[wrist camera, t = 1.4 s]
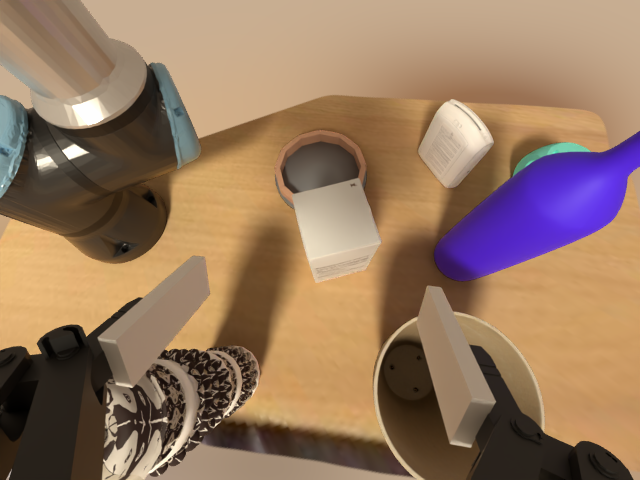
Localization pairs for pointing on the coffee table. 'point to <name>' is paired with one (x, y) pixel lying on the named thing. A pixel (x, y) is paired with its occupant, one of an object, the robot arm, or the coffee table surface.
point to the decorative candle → (173, 408)
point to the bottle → (539, 211)
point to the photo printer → (454, 143)
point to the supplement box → (336, 229)
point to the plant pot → (422, 406)
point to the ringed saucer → (317, 163)
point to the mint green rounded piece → (548, 153)
